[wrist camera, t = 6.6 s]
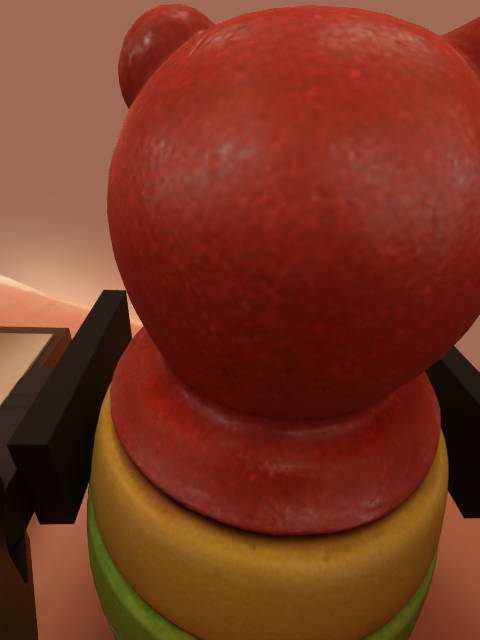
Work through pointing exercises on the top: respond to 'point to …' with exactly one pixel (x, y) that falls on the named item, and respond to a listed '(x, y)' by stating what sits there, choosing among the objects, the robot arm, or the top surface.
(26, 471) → the robot arm
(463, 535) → the top surface
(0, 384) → the dollhouse bed
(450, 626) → the top surface
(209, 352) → the stacking bear
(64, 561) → the top surface
